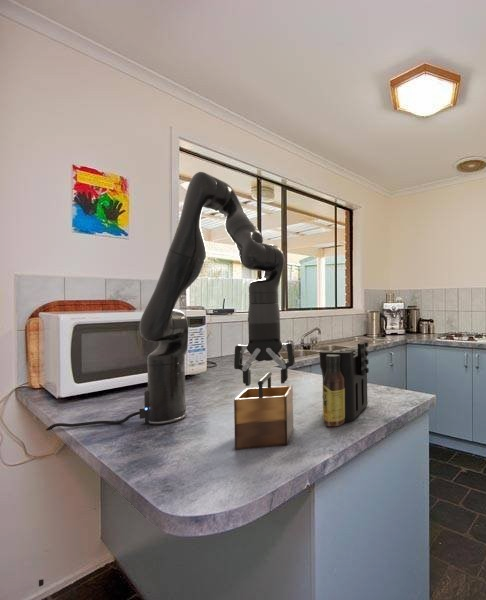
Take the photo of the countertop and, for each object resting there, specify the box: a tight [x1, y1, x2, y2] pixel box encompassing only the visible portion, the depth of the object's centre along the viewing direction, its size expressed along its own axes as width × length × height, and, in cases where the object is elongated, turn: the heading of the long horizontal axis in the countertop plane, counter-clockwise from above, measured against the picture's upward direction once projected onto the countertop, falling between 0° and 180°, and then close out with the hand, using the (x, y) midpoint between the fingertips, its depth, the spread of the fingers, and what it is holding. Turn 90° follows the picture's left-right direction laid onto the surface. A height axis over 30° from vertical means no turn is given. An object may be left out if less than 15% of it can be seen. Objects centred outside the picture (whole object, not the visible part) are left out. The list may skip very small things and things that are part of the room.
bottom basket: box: [233, 407, 294, 450], centre depth 84 cm, size 12×10×6 cm
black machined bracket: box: [318, 341, 370, 424], centre depth 103 cm, size 12×21×22 cm, turn 168°
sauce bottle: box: [322, 354, 345, 427], centre depth 93 cm, size 7×6×20 cm
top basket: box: [233, 371, 294, 425], centre depth 84 cm, size 12×10×10 cm
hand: (265, 384), depth 84 cm, fingers open, 8 cm apart
